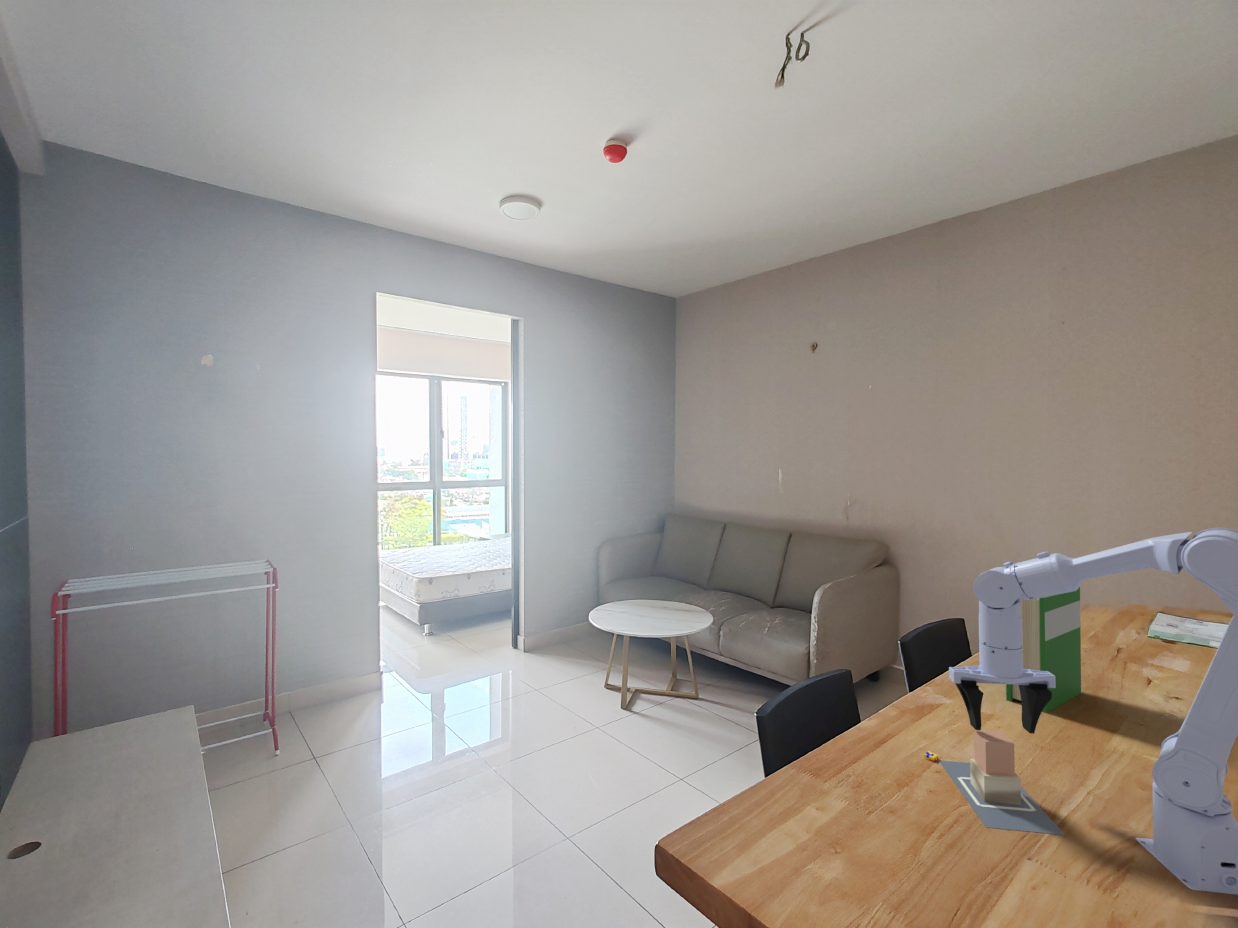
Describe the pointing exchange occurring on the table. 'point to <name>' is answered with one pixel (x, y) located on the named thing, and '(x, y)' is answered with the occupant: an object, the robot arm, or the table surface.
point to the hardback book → (1052, 644)
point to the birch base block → (995, 785)
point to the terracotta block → (994, 752)
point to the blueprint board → (1001, 806)
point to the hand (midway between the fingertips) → (1001, 728)
